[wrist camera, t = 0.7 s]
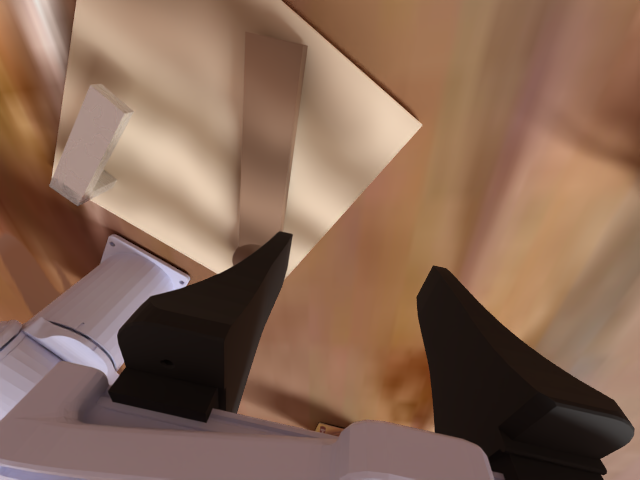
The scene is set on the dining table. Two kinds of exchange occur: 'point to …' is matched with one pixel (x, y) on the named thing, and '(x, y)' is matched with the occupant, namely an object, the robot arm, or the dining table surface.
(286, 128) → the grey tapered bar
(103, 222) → the dining table surface
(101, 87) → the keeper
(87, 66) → the base board
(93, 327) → the robot arm
